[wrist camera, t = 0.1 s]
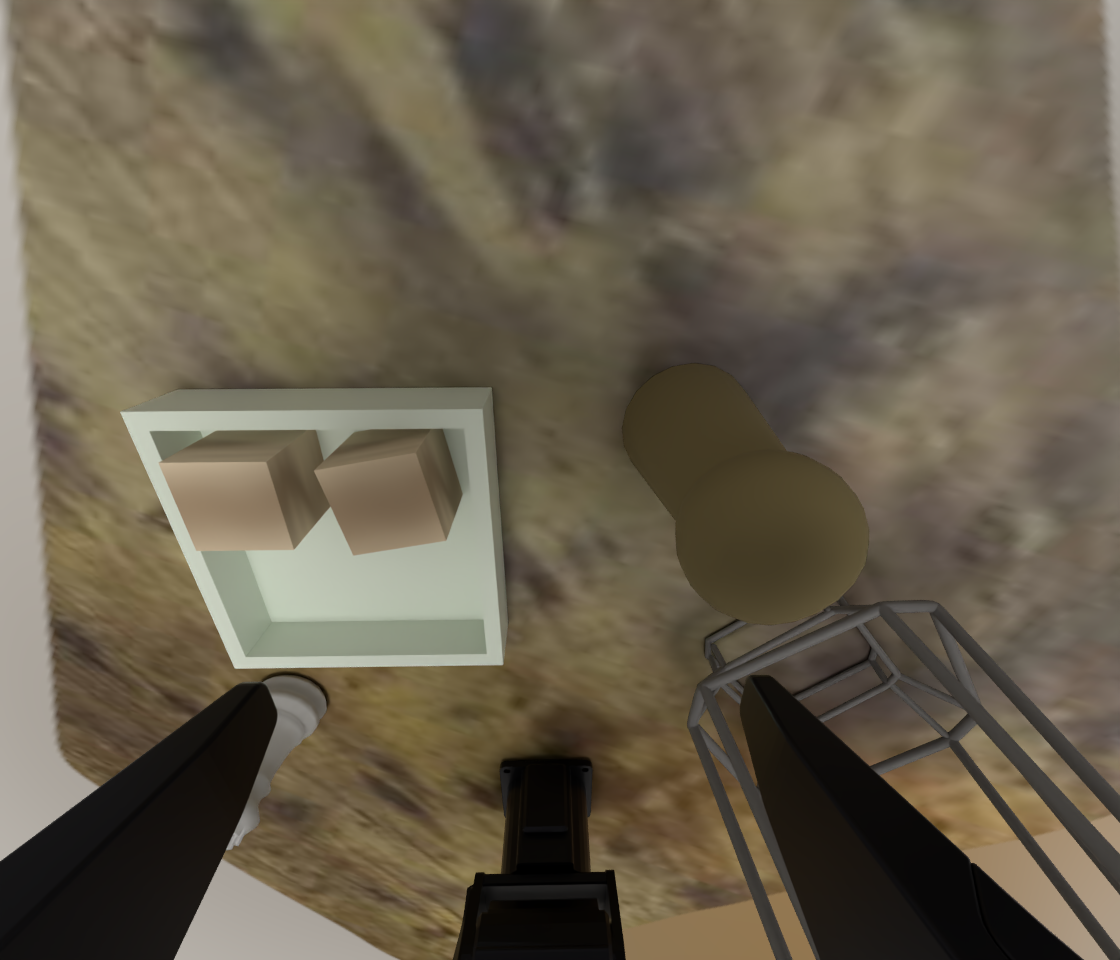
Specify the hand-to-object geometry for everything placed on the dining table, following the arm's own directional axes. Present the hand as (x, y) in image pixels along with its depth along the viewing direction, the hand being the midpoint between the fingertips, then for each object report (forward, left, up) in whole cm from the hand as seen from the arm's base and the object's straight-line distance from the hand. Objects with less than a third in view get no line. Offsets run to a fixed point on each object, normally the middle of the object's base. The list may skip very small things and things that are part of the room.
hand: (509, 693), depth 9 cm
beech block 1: (-2, +12, -14) cm, 18 cm away
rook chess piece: (-18, +16, -15) cm, 28 cm away
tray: (-5, +9, -15) cm, 18 cm away
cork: (0, -7, -15) cm, 16 cm away
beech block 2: (-2, +6, -14) cm, 15 cm away
